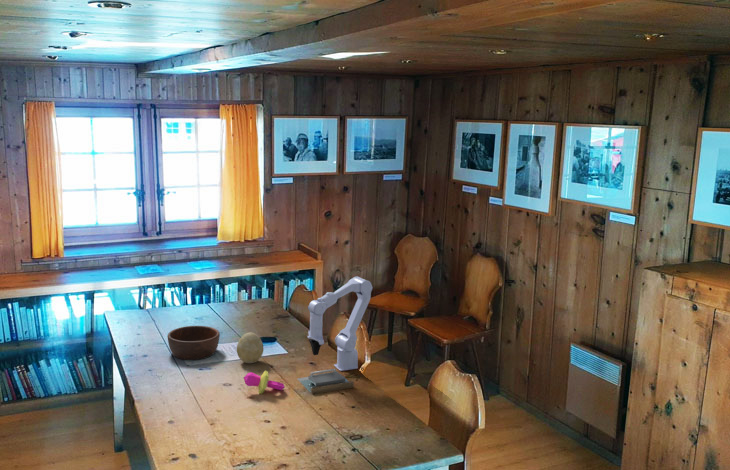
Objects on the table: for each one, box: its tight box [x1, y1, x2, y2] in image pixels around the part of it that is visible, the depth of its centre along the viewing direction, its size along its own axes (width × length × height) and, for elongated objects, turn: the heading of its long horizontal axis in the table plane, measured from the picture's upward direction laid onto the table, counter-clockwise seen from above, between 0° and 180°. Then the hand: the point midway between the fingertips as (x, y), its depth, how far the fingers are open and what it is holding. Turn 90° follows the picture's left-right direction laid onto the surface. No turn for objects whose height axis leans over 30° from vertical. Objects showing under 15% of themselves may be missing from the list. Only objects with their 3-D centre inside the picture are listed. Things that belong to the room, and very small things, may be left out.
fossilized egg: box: [236, 331, 264, 364], centre depth 326 cm, size 13×13×15 cm
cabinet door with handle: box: [307, 368, 346, 387], centre depth 304 cm, size 14×9×4 cm, turn 116°
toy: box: [243, 370, 285, 395], centre depth 294 cm, size 10×18×10 cm, turn 101°
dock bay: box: [296, 373, 355, 395], centre depth 306 cm, size 20×18×3 cm
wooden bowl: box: [166, 325, 221, 361], centre depth 336 cm, size 25×25×10 cm
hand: (315, 354), depth 315 cm, fingers closed
